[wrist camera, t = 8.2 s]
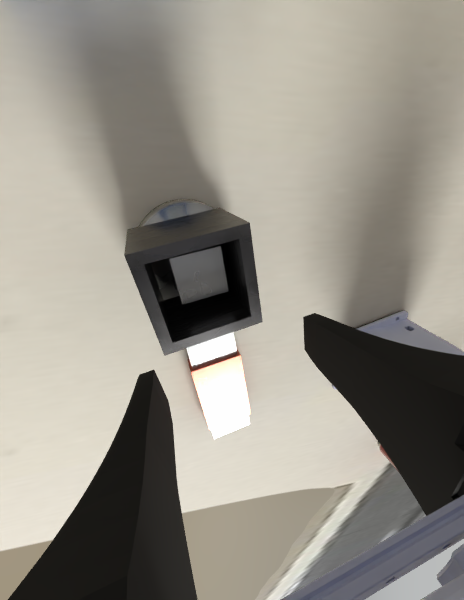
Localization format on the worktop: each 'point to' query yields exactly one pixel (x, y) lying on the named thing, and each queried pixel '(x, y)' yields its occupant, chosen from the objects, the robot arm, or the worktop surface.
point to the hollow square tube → (205, 312)
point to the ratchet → (216, 352)
